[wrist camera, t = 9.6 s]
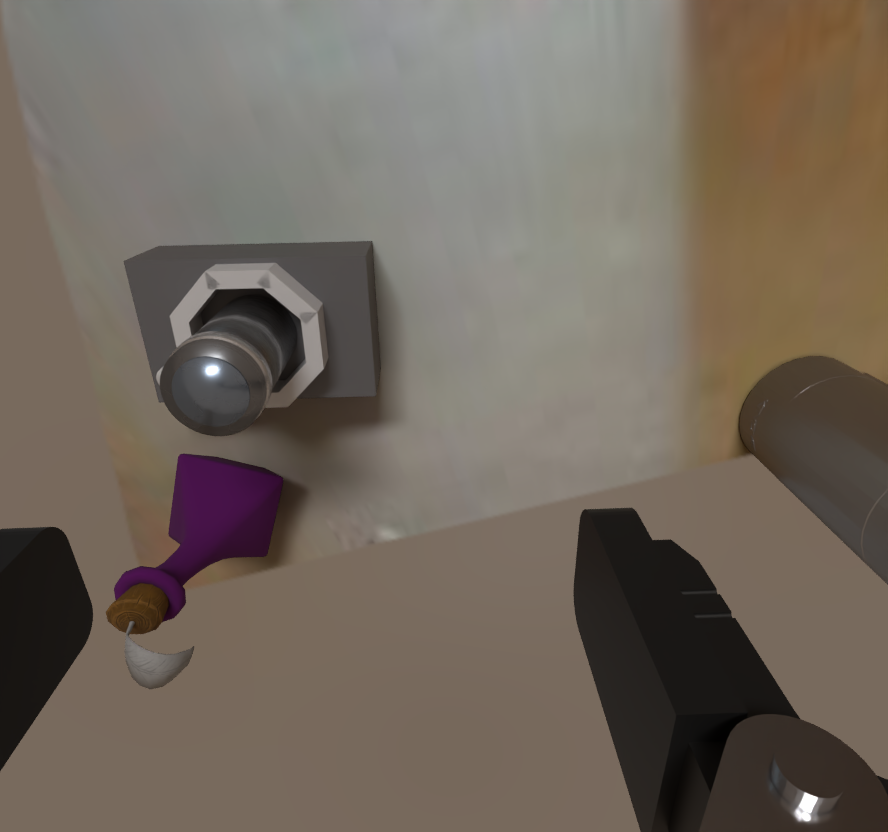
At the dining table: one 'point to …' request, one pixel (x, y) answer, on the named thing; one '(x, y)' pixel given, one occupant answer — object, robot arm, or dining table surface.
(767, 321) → the dining table surface
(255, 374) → the lens
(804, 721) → the robot arm
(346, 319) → the camera body
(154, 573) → the perfume bottle
